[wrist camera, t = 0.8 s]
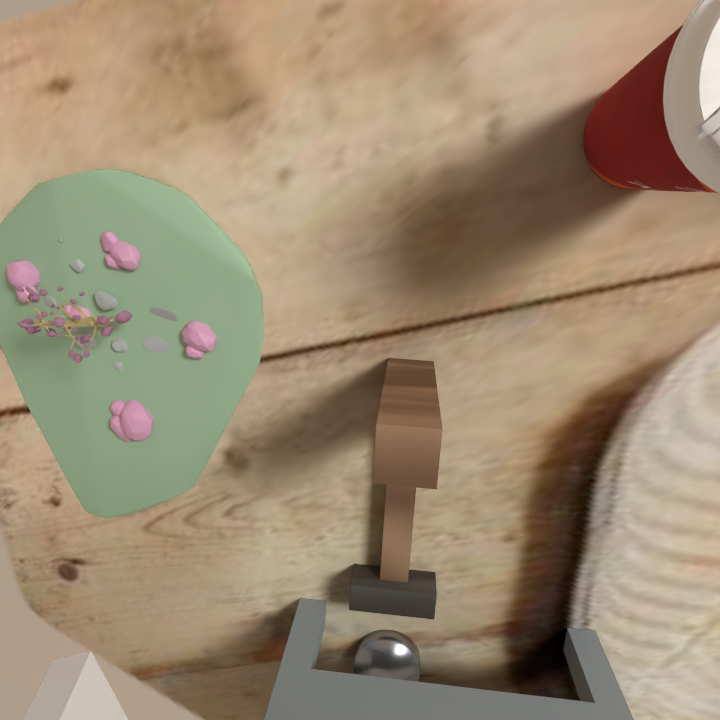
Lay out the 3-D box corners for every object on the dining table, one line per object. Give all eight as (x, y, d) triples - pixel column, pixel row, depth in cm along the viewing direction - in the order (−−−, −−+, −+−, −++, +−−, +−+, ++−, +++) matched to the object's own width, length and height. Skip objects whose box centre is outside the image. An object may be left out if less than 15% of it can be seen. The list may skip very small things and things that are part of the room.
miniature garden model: (282, 517, 41) (247, 597, 32) (26, 512, 43) (-72, 586, 35) (253, 164, 35) (200, 147, 26) (-45, 179, 37) (-186, 168, 28)
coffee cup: (622, 237, 33) (781, 254, 19) (533, 134, 32) (628, 69, 18) (744, 132, 31) (1026, 62, 17) (653, 19, 30) (870, -159, 16)
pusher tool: (365, 356, 37) (343, 421, 25) (456, 363, 36) (475, 432, 25) (352, 586, 41) (329, 730, 30) (432, 595, 41) (440, 744, 29)
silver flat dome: (422, 631, 42) (422, 645, 41) (417, 684, 43) (417, 700, 42) (357, 624, 43) (355, 638, 41) (354, 676, 44) (352, 692, 42)
